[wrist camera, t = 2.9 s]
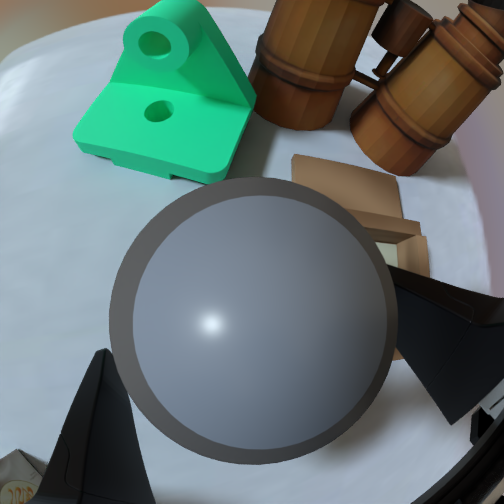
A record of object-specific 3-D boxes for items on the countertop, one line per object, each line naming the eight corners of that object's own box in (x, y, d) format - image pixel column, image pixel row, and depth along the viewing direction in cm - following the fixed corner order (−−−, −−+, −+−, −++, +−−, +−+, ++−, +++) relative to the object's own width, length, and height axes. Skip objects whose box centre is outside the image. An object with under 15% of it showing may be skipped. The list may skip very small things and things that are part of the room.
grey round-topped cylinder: (264, 360, 16) (393, 449, 4) (181, 355, 15) (105, 459, 3) (268, 279, 17) (400, 191, 5) (186, 273, 16) (127, 156, 4)
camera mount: (79, 157, 17) (23, 67, 7) (124, 91, 19) (102, -1, 9) (220, 195, 18) (235, 78, 8) (251, 117, 20) (279, 10, 10)
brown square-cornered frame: (400, 351, 17) (429, 354, 14) (287, 359, 16) (305, 368, 13) (390, 180, 20) (412, 162, 17) (291, 159, 19) (304, 133, 16)
